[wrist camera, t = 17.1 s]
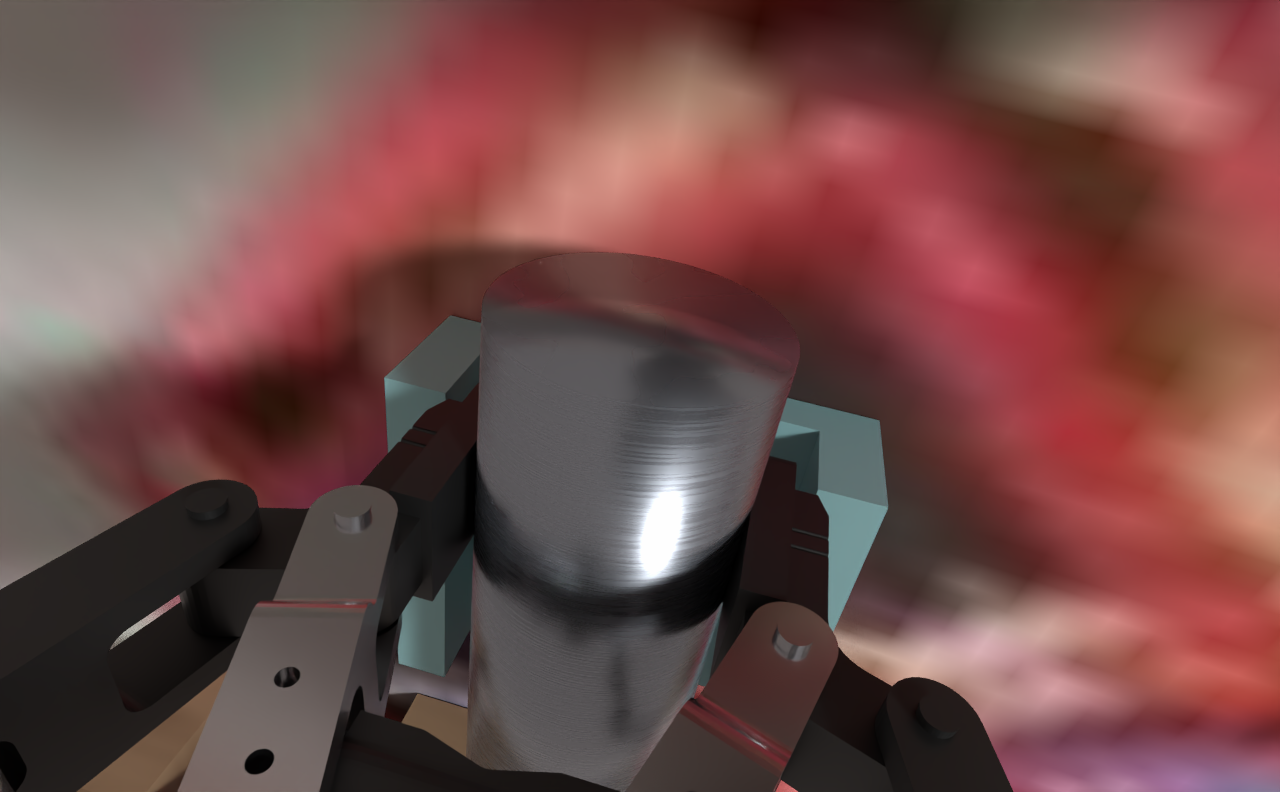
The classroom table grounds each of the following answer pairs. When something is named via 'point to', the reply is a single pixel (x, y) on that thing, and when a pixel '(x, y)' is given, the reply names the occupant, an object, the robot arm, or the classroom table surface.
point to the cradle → (807, 434)
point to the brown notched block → (156, 765)
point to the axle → (610, 500)
